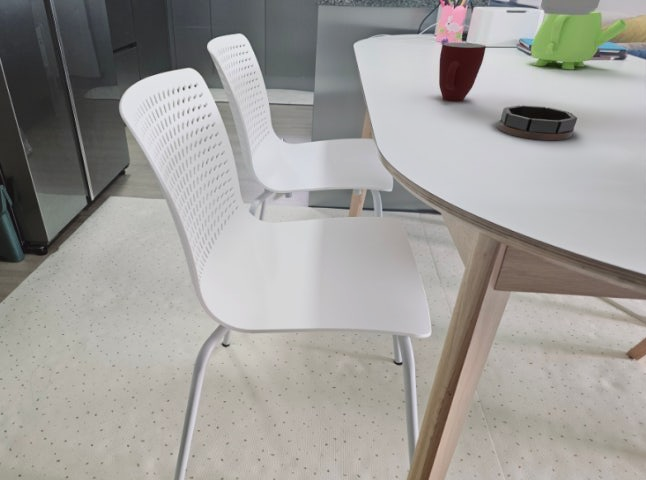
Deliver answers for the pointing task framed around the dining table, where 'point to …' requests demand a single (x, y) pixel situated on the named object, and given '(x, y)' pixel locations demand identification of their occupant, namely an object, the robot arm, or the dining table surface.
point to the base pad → (537, 122)
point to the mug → (459, 69)
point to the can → (569, 6)
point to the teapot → (571, 38)
